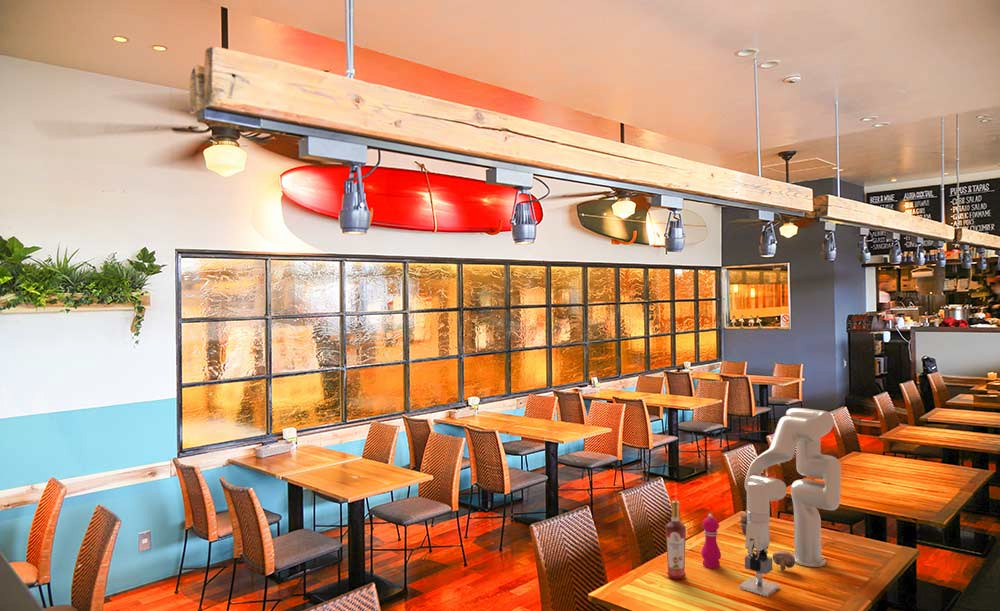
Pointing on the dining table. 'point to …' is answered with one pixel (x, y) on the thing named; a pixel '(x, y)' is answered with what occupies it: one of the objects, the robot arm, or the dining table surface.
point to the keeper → (759, 585)
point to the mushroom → (784, 559)
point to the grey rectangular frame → (764, 564)
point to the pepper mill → (711, 543)
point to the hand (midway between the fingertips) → (758, 567)
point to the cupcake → (744, 522)
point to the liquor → (675, 545)
